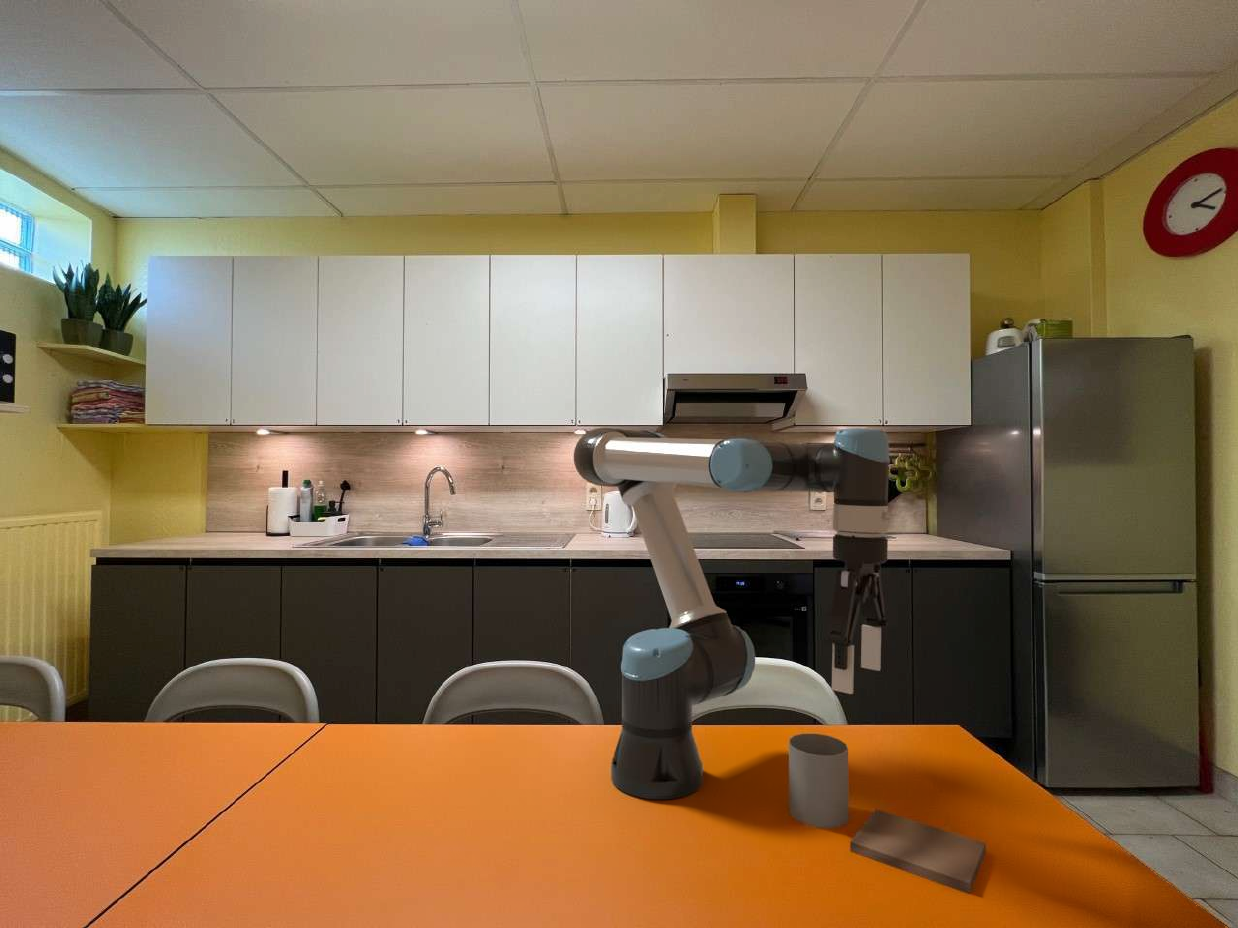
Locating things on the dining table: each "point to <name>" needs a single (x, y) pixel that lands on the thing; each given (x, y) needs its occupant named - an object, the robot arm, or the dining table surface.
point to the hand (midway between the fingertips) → (857, 679)
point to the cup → (818, 780)
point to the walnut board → (920, 849)
